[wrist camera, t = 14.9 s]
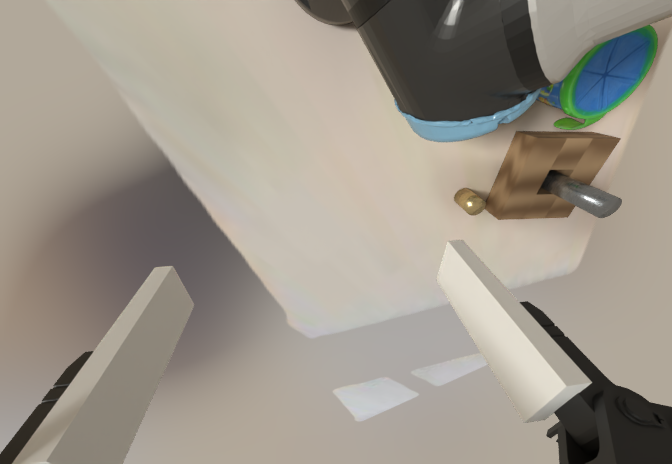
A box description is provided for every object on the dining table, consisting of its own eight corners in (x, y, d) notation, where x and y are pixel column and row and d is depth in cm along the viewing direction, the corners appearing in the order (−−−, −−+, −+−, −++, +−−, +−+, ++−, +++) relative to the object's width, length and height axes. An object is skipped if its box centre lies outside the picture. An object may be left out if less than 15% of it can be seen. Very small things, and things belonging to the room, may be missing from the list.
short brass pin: (457, 188, 50) (471, 199, 46) (473, 188, 50) (488, 198, 46) (451, 203, 52) (464, 215, 48) (467, 203, 52) (481, 215, 48)
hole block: (516, 131, 44) (538, 138, 40) (592, 132, 46) (620, 138, 42) (483, 207, 53) (498, 219, 49) (548, 206, 55) (567, 217, 51)
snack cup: (567, 112, 43) (630, 123, 35) (508, 131, 44) (556, 147, 36) (596, -3, 35) (689, -24, 26) (522, 24, 35) (589, 12, 27)
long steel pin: (530, 164, 49) (606, 197, 36) (546, 164, 49) (627, 197, 37) (521, 181, 51) (591, 218, 38) (537, 180, 51) (611, 217, 39)
